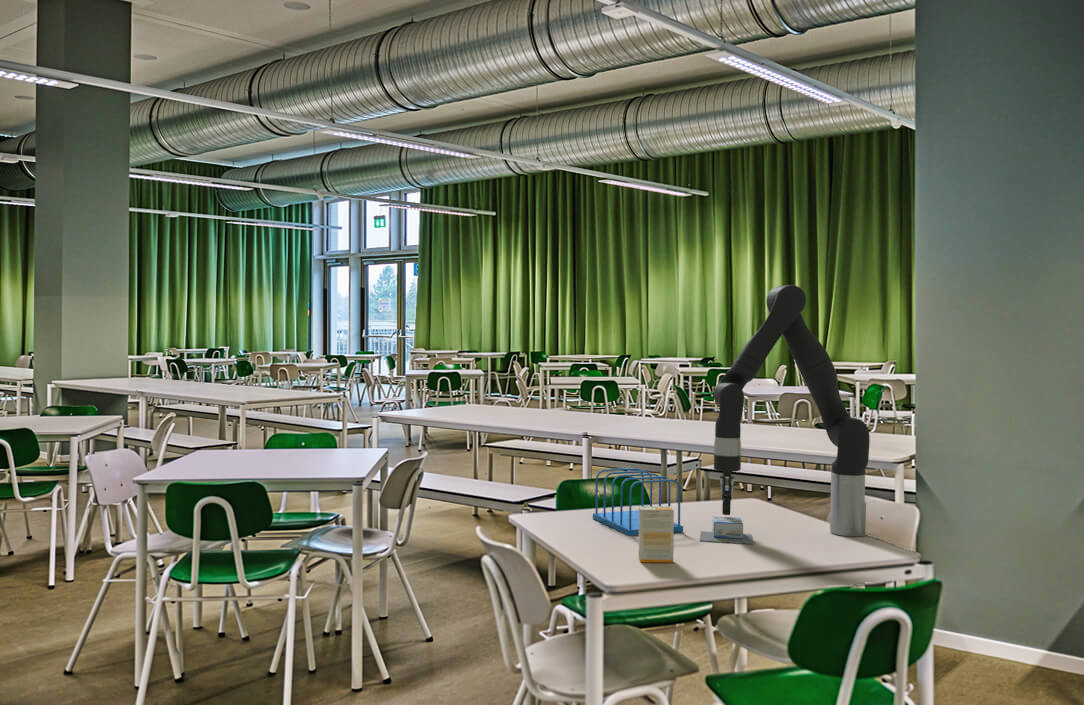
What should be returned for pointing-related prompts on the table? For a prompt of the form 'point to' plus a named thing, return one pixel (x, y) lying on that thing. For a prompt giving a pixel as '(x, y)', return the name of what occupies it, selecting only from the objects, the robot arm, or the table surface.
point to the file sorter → (630, 519)
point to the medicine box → (727, 527)
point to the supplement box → (656, 534)
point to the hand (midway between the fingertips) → (726, 514)
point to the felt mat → (710, 537)
